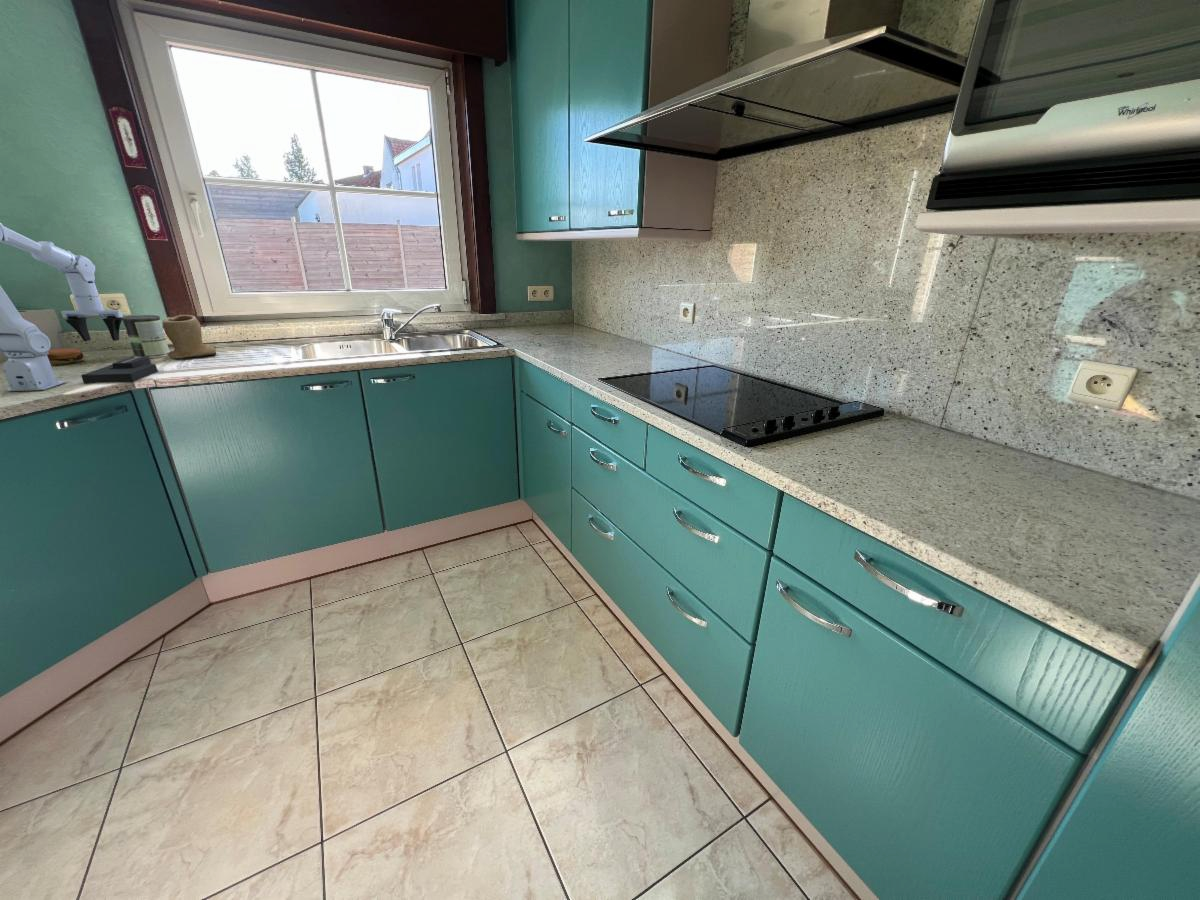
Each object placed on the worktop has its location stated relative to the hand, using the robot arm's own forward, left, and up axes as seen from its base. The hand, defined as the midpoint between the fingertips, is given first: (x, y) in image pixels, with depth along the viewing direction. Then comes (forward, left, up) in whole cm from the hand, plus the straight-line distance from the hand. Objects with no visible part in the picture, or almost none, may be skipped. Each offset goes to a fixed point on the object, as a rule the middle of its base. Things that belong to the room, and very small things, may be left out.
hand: (101, 340), depth 157 cm
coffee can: (+22, -1, -10) cm, 24 cm away
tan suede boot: (+18, -16, -10) cm, 26 cm away
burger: (+13, +20, -10) cm, 26 cm away
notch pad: (-13, -9, -9) cm, 18 cm away
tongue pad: (-6, -9, -9) cm, 14 cm away
